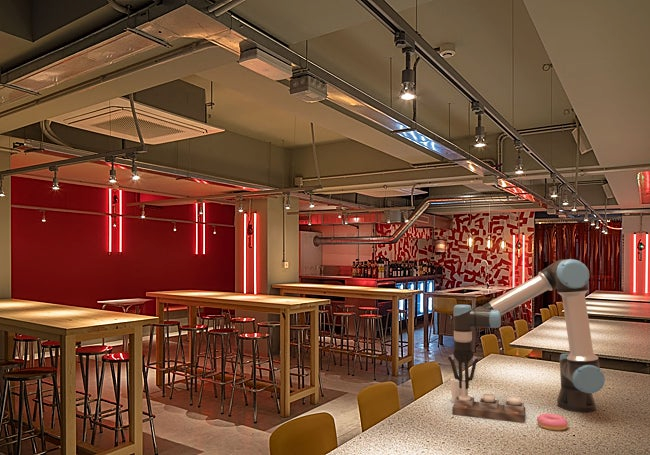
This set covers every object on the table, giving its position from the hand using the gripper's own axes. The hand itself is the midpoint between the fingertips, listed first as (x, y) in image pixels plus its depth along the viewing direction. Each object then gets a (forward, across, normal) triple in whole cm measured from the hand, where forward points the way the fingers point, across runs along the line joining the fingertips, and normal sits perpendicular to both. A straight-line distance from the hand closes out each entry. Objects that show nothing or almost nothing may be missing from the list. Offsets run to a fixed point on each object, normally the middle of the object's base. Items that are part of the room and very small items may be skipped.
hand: (464, 396), depth 209 cm
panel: (+6, -10, +2) cm, 12 cm away
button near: (+1, -20, 0) cm, 20 cm away
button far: (+2, 0, 0) cm, 2 cm away
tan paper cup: (+6, +4, -12) cm, 14 cm away
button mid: (+1, -10, 0) cm, 10 cm away
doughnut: (+6, -34, +7) cm, 35 cm away
